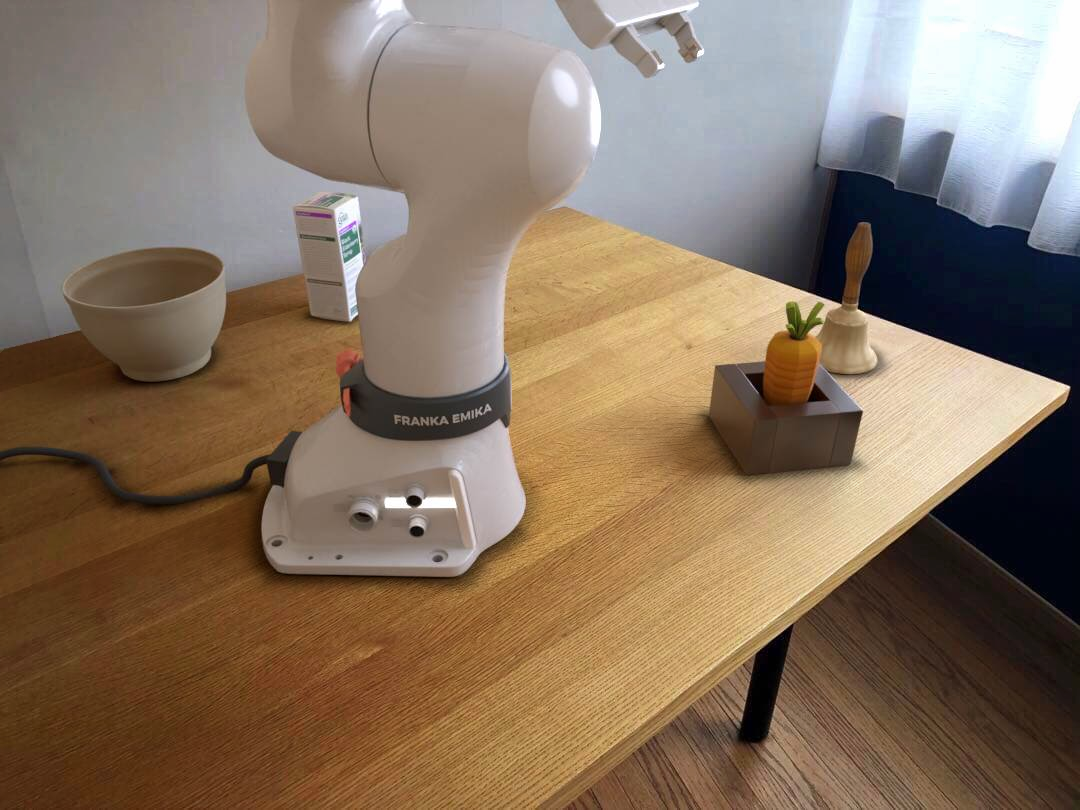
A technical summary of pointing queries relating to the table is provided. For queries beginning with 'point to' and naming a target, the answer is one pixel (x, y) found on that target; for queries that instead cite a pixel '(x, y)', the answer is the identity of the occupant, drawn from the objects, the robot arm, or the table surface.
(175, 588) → the table surface
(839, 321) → the hand bell
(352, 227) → the syrup box
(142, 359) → the planter bowl
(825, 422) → the stand
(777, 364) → the carrot
